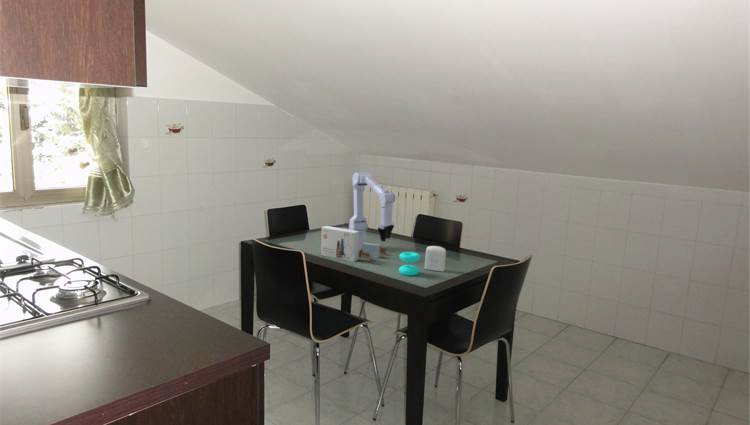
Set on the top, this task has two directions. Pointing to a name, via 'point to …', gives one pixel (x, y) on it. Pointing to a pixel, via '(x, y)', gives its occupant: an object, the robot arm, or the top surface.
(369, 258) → the offcut stack
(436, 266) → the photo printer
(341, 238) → the skincare box
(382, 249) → the brown wooden l-shape
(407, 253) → the donuts
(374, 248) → the light blue block
